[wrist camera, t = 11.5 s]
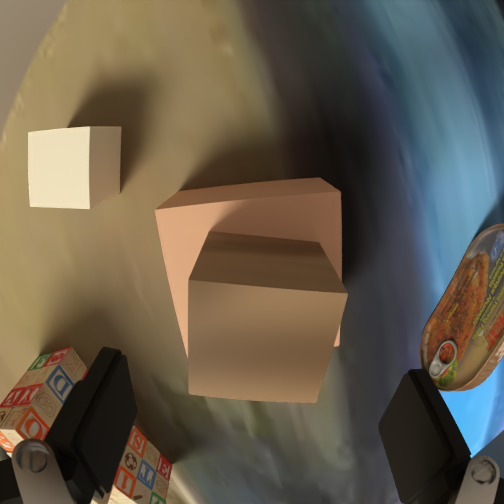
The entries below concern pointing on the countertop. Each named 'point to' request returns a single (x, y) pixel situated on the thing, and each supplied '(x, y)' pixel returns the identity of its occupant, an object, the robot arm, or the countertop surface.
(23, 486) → the robot arm
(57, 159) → the off-white cube
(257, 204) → the terracotta block
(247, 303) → the walnut cube
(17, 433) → the stack of blocks
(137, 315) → the countertop surface
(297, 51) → the countertop surface
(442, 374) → the tin
